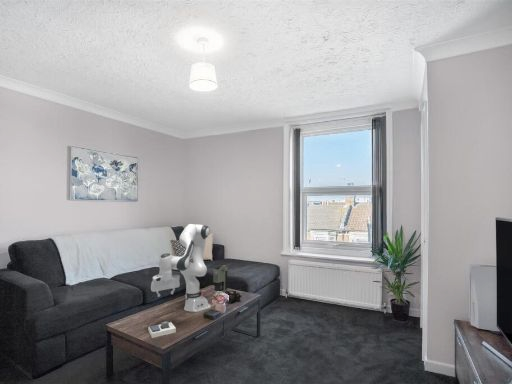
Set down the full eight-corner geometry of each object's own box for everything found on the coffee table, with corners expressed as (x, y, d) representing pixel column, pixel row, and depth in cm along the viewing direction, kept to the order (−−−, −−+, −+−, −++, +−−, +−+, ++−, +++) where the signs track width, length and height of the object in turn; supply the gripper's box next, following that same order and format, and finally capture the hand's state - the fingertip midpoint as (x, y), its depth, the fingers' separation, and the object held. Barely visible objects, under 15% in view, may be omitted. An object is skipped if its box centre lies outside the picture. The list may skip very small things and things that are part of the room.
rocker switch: (166, 329, 208) (167, 320, 208) (168, 331, 204) (168, 322, 204) (161, 330, 205) (161, 322, 206) (162, 332, 202) (162, 324, 202)
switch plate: (171, 326, 213) (171, 320, 213) (175, 332, 203) (175, 326, 203) (148, 331, 205) (148, 325, 205) (151, 338, 194) (152, 332, 194)
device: (218, 298, 275) (218, 266, 276) (212, 296, 279) (212, 265, 280) (227, 294, 286) (228, 263, 287) (222, 292, 291) (222, 262, 291)
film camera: (220, 303, 260) (220, 292, 260) (223, 299, 272) (223, 288, 273) (240, 304, 258) (240, 293, 258) (242, 300, 270) (242, 289, 271)
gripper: (178, 273, 220) (178, 291, 220) (150, 277, 209) (150, 296, 209) (180, 275, 214) (181, 293, 215) (152, 279, 204) (152, 299, 204)
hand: (165, 295), depth 212 cm, fingers open, 8 cm apart
